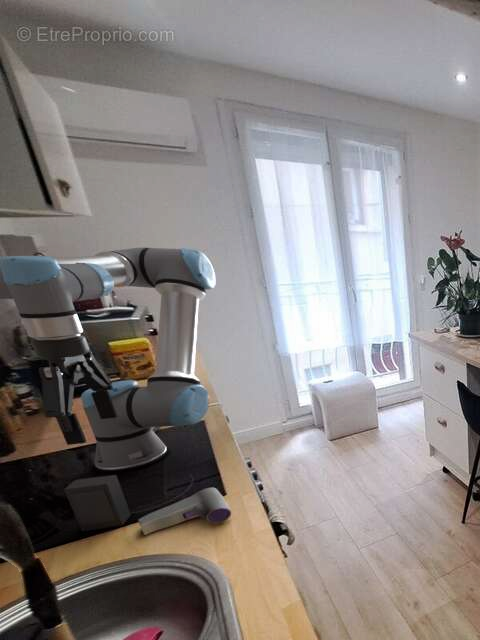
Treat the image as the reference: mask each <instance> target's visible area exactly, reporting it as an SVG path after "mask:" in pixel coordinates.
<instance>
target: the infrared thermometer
mask: <svg viewBox="0 0 480 640" xmlns="http://www.w3.org/2000/svg"><path fill="white" fill-rule="evenodd" d="M231 516H232V510H231V508H230V506H229V505H228V503H227V502H226V500H225V498H224V496H223V495H222V494H221V492H220V491H219V490H218V489H217V488H215V487H206V488H203V489H201V490H198V491H197V492H195V493H194V494H192V495H191V496H189V497H186V498H184V499H181V500H179V501H177V502H175V503H173V504H170V505H168V506H165V507H162V508H160V509H158V510H156V511H153V512H150V513H147V515H144V516H142V517H140V518H138V519H137V522H138V524H139V526H140V528H141V530H142V532H143V534H144V536H147V535H148V534H151V533H153V532H156V531H160V530H161V529H166V528H168V527H172V526H175V525H178V524H180V523H182V522H185V521H189V520H191V519H196V518H198V517H200V518H203V519H204V520H205V521H207V522H209V523H214V524H217V523H222V522H225V521H227V520H228V519H229V518H230V517H231Z"/></svg>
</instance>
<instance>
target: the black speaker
mask: <svg viewBox="0 0 480 640" xmlns="http://www.w3.org/2000/svg"><path fill="white" fill-rule="evenodd" d="M63 490H64V493H65V495H66V498H67V500H68V502H69V504H70V507H71V509H72V512H73V514H74V517H75V519H76V521H77V523H78V525H79V528H80V531H81V532H82V533H83V532H90V531H96V530H101V529H108V528H115V527H119V526H120V527H121V526H123V525H124V524H125V523H126V522H127V521H128V519H129V518H130V517H131V516H132V514H131V511H130V509H129V506H128V503H127V500H126V498H125V494H124V493H123V492H124V491H123V489H122V487H121V484H120V481H119V479H118V475H117V474H112V475H104V476H96V477H88V478H80V479H79V478H78V479H75V480H73V481H72V482H71V483H70V484H68V485H67V487H65V488H64V489H63Z"/></svg>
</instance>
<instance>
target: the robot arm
mask: <svg viewBox="0 0 480 640" xmlns="http://www.w3.org/2000/svg"><path fill="white" fill-rule="evenodd" d="M216 283H217V277H216V273H215V270H214V267H213V265H212V263H211V261H210V260H209V258H208V257H207V255H205V254H204V253H203V252H202V251H200V250H197V249H191V248H189V249H188V248H185V247H184V248H183V247H182V248H162V247H161V248H160V247H132V248H125V249H117V250H109V251H100V252H98V253H95V254H94V255H91V256H75V257H57V258H54V257H52V256H46V255H11V256H10V255H9V256H3V257H1V258H0V300H13V302H14V304H15V307H16V308H17V311H18V315H19V316H20V318H21V322H20V323H21V325H23V326H24V329H25V331H26V333H27V335H28V337H29V338H32V339H31V340H30V345H31V346H32V348H33V351H34V354H35V356H36V357H37V358H40V359H42V360H43V359H44V360H47V361H48V365H49V366H48V367H47V366H46V367H39V368H38V374H39V376H40V380H41V386H42V387H41V388H42V389H41V390H42V391H41V392H42V402H43V414H44V415H43V416H44V417H45V418H46V419H47V418H48V419H49V418H50V419H51V418H55V419H56V422H57V424H58V427H59V429H60V431H61V433H62V436H63V438H64V441H65V443H66V445H67V446H70V445H80V444H81V445H82V444H85V443H87V439H86V436H85V433H84V431H83V428H82V426H81V423H80V421H79V419H78V416H77V414H76V413H75V412H74V413H72V412H73V404H74V403H73V402H74V390H75V386H77V385H78V383H79V381H80V382H81V383H83V384H84V385H85V386H86V387H88V389H86V390H85V391H83V392H82V394H81V396H80V400H81V403H82V409H83V410H84V413H85V416H86V418H87V421H88V423H89V426H90V428H91V431H92V433H93V436H94V438H95V441H96V446H95V453H94V454H95V455H94V465H95V468H96V471H98V472H100V473H101V472H102V473H120V472H122V473H123V472H128V471H133V470H137V469H140V468H144V467H147V466H150V465H153V464H154V463H156V462H159V461H160V460H162V459H163V458H165V457H166V455H167V454H168V449H167V446H166V445H165V443H164V442H163V440H161V439H160V437H159V436H158V435H157V434H156V432H157V431H158V430H159V429H160V428H163V427H164V428H165V427H178V428H179V427H184V426H193V425H196V424H198V423H200V422H201V421H202V420H203V419H204V418H205V416H206V415H207V413H208V410H209V406H210V396H209V395H208V394H209V391H208V390H207V388H206V387H205V386H203V385H201V380H200V379H199V378H198V377H197V376H195V370H196V355H197V352H196V351H197V339H198V321H199V307H200V302H201V301H202V300H204V299H206V295H207V290H208V291H210V290H212V289H214V288H215V287H216ZM125 287H136V288H146V289H147V288H148V289H154V290H155V291H156V292H157V293H158V294H160V295H161V296H160V306H159V307H160V308H159V320H158V332H157V345H156V346H157V347H156V358H155V371H154V373H153V374H151V375H150V376H148V377H147V379H146V380H147V381H146V386H139V385H140V384H139V383H138V382H137V380H133V379H125V380H119V381H113V382H112V380H111V379H110V378H109V376H108V374H106V372H105V371H104V370H103V368H102V367H101V366H100V364H99V362H98V361H97V360H96V358H95V356H94V354H93V352H92V350H91V348H90V347H89V344H88V343H89V342H88V341H87V338H86V336H85V335H83V334H82V333H83V332H84V329H83V327H82V324H81V321H80V319H79V316H78V313H77V311H76V309H75V306H74V303H75V302H81V301H87V300H93V299H94V300H97V299H99V298H102V297H106V296H108V295H109V294H111V293H112V292H113V290H114V288H125ZM153 428H154V429H153Z"/></svg>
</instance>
